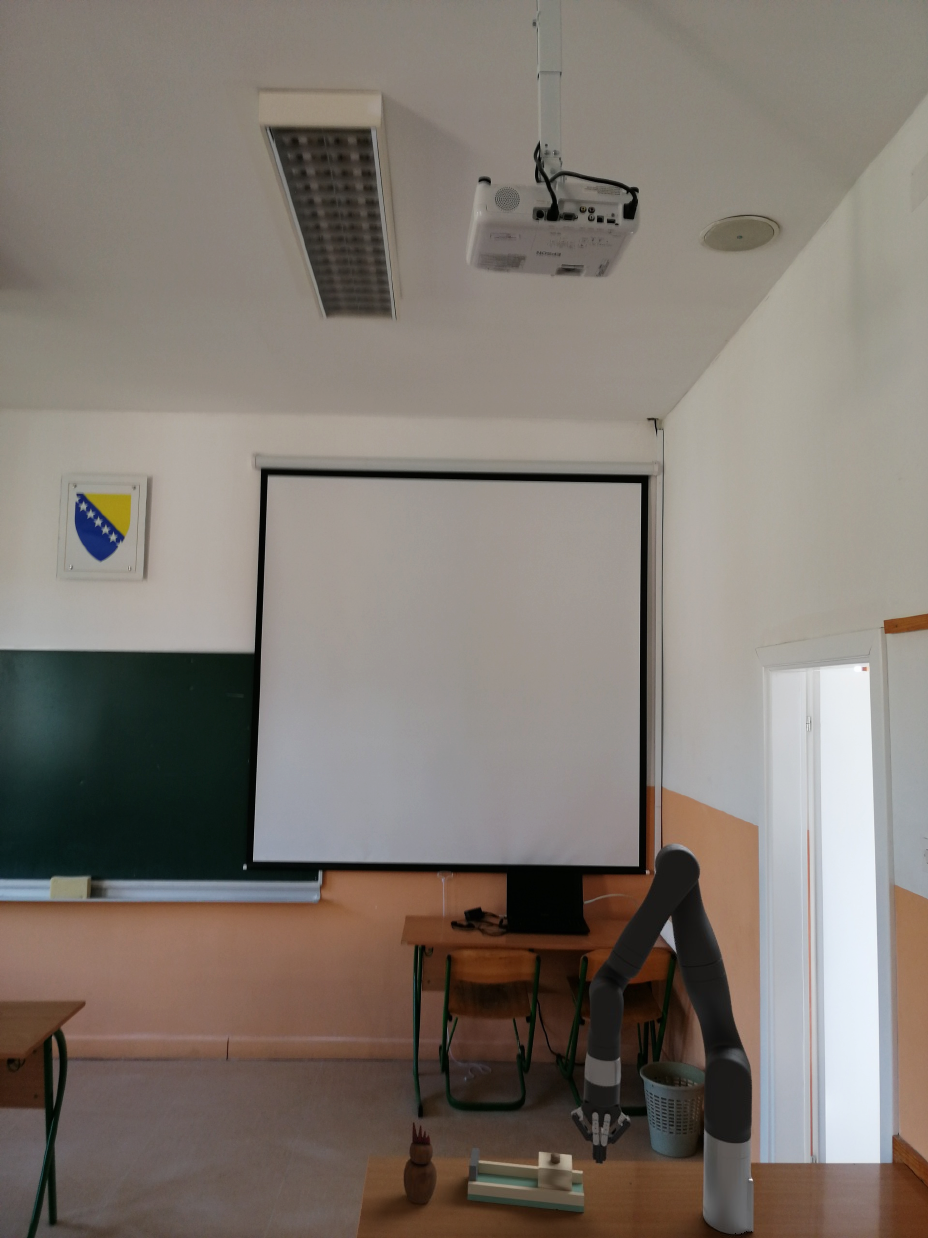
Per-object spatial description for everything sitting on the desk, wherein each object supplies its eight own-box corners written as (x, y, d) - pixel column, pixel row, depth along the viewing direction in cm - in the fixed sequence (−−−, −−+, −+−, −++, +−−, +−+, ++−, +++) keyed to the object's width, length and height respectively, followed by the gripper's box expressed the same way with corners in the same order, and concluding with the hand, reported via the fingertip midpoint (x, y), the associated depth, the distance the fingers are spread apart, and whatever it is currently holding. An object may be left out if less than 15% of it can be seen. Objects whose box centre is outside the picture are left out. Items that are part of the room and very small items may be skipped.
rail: (582, 1187, 177) (582, 1156, 177) (583, 1212, 168) (584, 1180, 169) (471, 1175, 180) (472, 1145, 180) (467, 1200, 171) (468, 1168, 171)
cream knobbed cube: (570, 1182, 176) (571, 1149, 176) (571, 1199, 170) (572, 1165, 170) (538, 1179, 177) (539, 1146, 177) (537, 1195, 171) (538, 1161, 171)
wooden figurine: (397, 1201, 169) (401, 1125, 171) (412, 1187, 174) (415, 1113, 176) (426, 1212, 166) (429, 1134, 168) (440, 1197, 171) (443, 1122, 173)
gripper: (632, 1071, 177) (629, 1156, 176) (571, 1064, 179) (567, 1148, 178) (635, 1088, 170) (632, 1176, 169) (571, 1080, 172) (567, 1167, 170)
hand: (598, 1161), depth 173 cm, fingers closed
